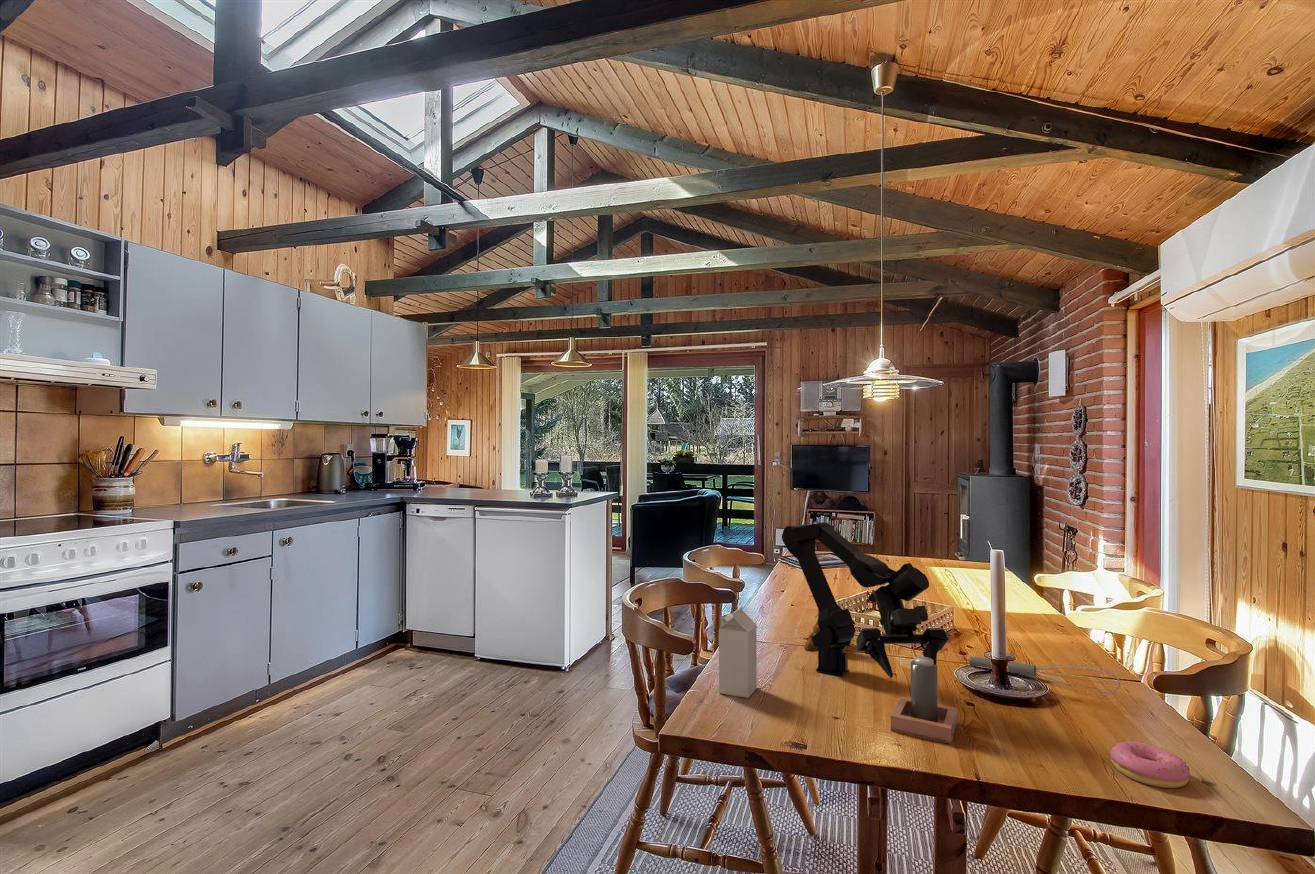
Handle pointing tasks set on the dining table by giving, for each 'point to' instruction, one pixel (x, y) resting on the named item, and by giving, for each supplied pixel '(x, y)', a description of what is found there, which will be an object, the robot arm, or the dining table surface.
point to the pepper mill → (924, 689)
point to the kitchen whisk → (1031, 671)
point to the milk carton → (738, 655)
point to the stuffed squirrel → (815, 630)
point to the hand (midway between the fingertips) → (913, 676)
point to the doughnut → (1149, 764)
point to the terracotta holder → (924, 722)
